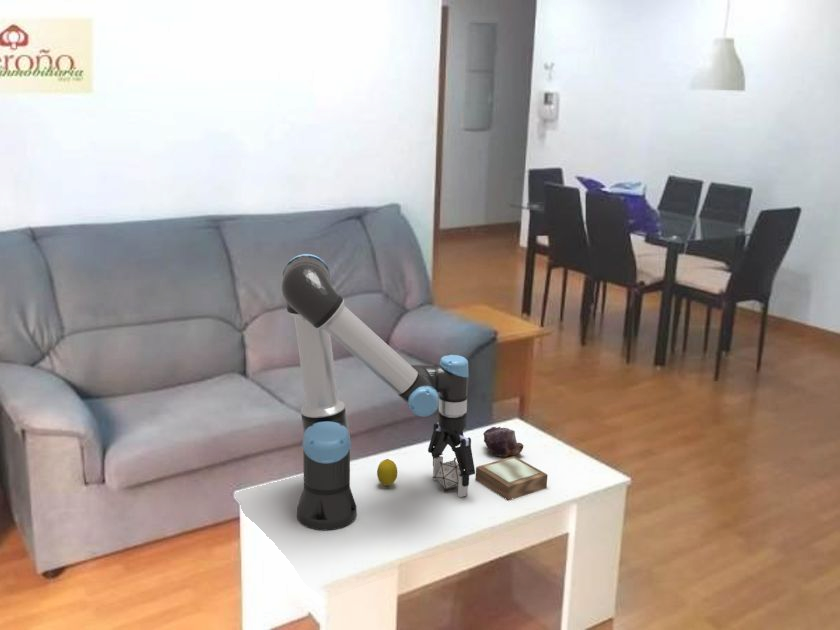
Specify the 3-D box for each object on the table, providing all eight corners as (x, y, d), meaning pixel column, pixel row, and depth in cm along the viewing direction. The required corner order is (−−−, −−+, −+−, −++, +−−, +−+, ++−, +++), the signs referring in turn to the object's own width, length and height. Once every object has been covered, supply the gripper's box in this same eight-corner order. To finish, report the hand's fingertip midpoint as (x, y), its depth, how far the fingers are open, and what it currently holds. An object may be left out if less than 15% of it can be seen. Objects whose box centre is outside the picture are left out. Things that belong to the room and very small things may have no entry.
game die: (442, 501, 237) (421, 474, 235) (455, 480, 243) (434, 454, 241) (465, 496, 231) (444, 468, 229) (478, 474, 237) (457, 447, 235)
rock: (498, 448, 266) (475, 456, 260) (497, 421, 265) (474, 428, 259) (527, 454, 258) (504, 463, 251) (526, 427, 257) (503, 434, 250)
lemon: (385, 492, 233) (385, 465, 231) (372, 484, 237) (373, 458, 235) (401, 486, 237) (401, 460, 235) (388, 479, 241) (389, 453, 239)
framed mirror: (507, 500, 231) (508, 485, 230) (475, 480, 242) (476, 466, 241) (546, 487, 239) (547, 473, 237) (513, 468, 250) (514, 455, 248)
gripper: (491, 424, 224) (487, 500, 230) (438, 396, 242) (436, 468, 248) (468, 430, 220) (464, 508, 226) (416, 401, 238) (414, 474, 244)
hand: (449, 487), depth 237 cm, fingers open, 11 cm apart
